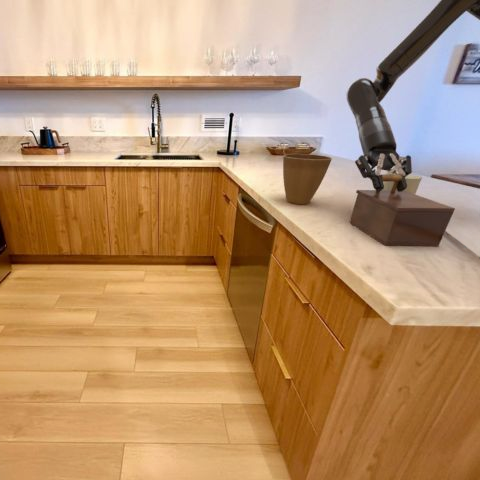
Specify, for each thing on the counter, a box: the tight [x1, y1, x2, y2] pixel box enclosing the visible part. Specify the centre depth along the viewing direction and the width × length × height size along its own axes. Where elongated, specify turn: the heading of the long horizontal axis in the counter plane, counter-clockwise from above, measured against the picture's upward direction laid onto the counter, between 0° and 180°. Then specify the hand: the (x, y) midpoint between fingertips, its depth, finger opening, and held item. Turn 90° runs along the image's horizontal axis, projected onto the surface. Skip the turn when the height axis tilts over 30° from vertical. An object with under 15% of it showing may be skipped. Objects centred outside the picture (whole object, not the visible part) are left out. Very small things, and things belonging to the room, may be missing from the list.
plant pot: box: [282, 153, 333, 205], centre depth 100 cm, size 15×15×16 cm
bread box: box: [349, 193, 454, 247], centre depth 75 cm, size 16×13×9 cm
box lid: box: [356, 174, 456, 213], centre depth 72 cm, size 16×13×6 cm
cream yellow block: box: [383, 172, 423, 195], centre depth 91 cm, size 9×9×12 cm
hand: (391, 189), depth 76 cm, fingers closed on box lid, 5 cm apart
